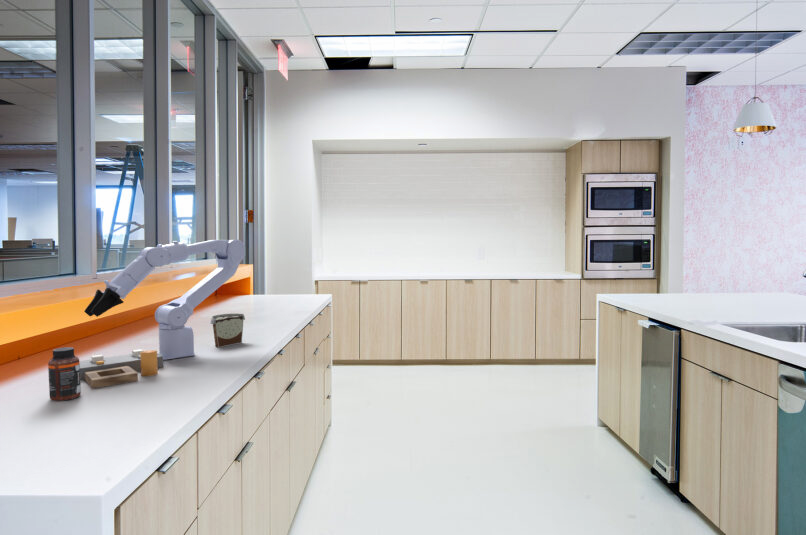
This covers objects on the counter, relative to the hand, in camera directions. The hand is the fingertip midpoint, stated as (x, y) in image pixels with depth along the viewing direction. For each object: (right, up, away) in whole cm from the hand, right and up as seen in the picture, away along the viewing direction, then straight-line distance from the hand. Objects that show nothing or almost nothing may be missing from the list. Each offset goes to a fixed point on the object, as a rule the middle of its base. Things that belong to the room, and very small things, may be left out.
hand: (90, 314), depth 137 cm
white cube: (+3, -14, -1) cm, 14 cm away
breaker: (+10, -13, +6) cm, 18 cm away
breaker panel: (+7, -16, +2) cm, 17 cm away
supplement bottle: (+8, -17, -22) cm, 29 cm away
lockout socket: (+11, -16, -8) cm, 21 cm away
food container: (+24, -14, +36) cm, 45 cm away
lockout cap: (+17, -16, -2) cm, 24 cm away
